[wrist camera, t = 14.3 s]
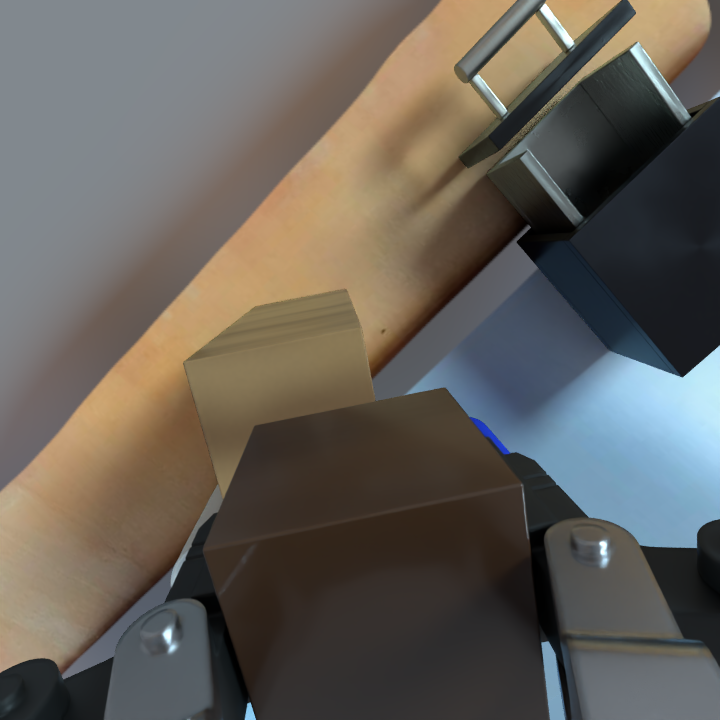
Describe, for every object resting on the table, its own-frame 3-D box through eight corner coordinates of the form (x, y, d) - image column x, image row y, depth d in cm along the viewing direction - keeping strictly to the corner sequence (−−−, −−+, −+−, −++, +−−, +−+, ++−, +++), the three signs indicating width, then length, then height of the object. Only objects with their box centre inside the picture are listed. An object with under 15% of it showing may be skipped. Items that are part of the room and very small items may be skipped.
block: (253, 425, 11) (200, 549, 6) (445, 386, 11) (524, 483, 6) (296, 588, 12) (277, 789, 7) (470, 551, 12) (552, 731, 7)
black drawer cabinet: (515, 242, 40) (568, 240, 31) (630, 131, 38) (721, 95, 29) (609, 351, 43) (682, 377, 34) (720, 251, 41) (827, 252, 32)
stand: (254, 306, 40) (182, 362, 20) (346, 288, 40) (361, 326, 20) (276, 394, 42) (228, 521, 22) (363, 376, 42) (392, 488, 22)
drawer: (417, 110, 36) (439, 77, 29) (528, -6, 35) (579, -71, 28) (554, 270, 40) (603, 275, 33) (659, 171, 38) (734, 153, 31)
